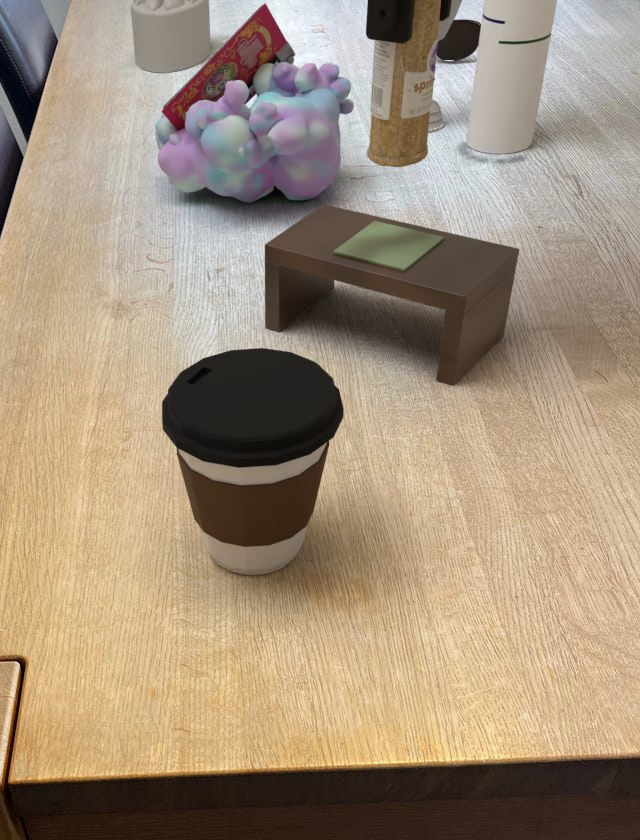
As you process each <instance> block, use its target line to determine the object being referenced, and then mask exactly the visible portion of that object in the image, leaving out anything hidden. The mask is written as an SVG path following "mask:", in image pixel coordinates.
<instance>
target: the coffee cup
mask: <svg viewBox="0 0 640 840" xmlns="http://www.w3.org/2000/svg"><path fill="white" fill-rule="evenodd" d="M344 411H345V409H344V405H343V400H342V395H341V391H340V388H339V387H338V386H336V384H335V380H334V377H333V376H331V374H329V373H328V372H327V371H326V370H325V369H324V368H323V367H322V366H321V365H320V364H319V363H317V362H316V361H314V360H312V359H310V358H307V357H304V356H302V355H299V354H297V353H294V352H292V351H287V350H280V349H272V348H271V349H270V348H266V347H265V348H263V347H255V348H242V349H230V350H227V351H223V352H220V353H217V354H213V355H210V356H206V357H203V358H201V359H199V360H198V361H195V362H194V363H192V364H191V365H190V366H188V367H187V368H185V369H183V370H181V371H180V372H179V373H178V375H177V376H176V378H175V379H174V380H173V382H172V383H171V385H170V386H169V387H168V389H167V394H166V395H165V397H164V398H163V399H162V401H161V425H162V431H163V432H164V433H165V435H166V436H167V437H168V439H169V440H170V441H171V443H172V444H173V445H174V446H175V447H176V448H175V449H176V456H177V460H178V464H179V467H180V471H181V475H182V478H183V482H184V486H185V490H186V494H187V498H188V501H189V505H190V508H191V512H192V516H193V519H194V521H195V523H197V525H198V528H199V531H200V535H201V539H202V543H203V546H204V548H205V549H206V551H207V552H208V553H209V554H210V556H211V558H212V559H213V560H214V562H215V563H216V564H217V565H219V566H220V567H222V568H223V569H226V570H227V571H229V572H230V573H235V574H239V575H244V576H256V575H257V576H258V575H268V574H270V573H273V572H275V571H276V572H277V571H279V570H281V569H283V568H284V567H285V566H287V565H288V564H290V563H291V562H292V561H293V560H294V559H295V558H296V556H297V554H298V553H299V551H300V549H301V547H302V545H303V543H304V541H305V538H306V534H307V529H308V525H309V523H310V520H311V518H312V516H313V514H314V512H315V508H316V503H317V499H318V495H319V492H320V491H319V490H320V487H321V482H322V478H323V473H324V469H325V465H326V460H327V457H328V453H329V448H330V441H331V440H332V439H333V438H334V437H335V435H336V433H337V432H338V429H339V427H340V425H341V423H342V421H343V419H344V416H345V415H344Z"/></svg>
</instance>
